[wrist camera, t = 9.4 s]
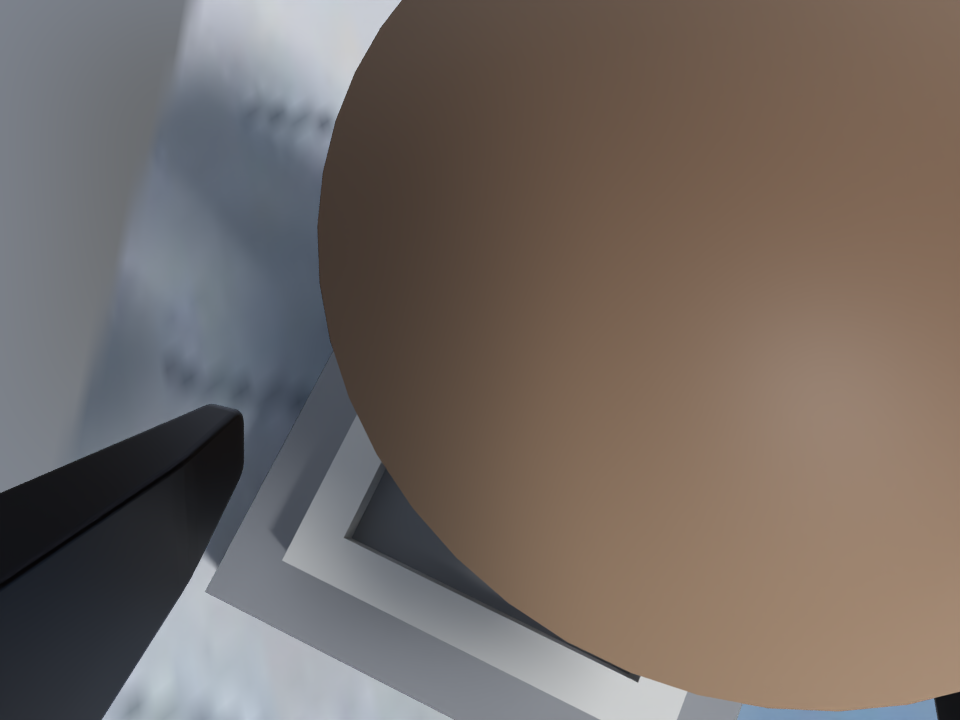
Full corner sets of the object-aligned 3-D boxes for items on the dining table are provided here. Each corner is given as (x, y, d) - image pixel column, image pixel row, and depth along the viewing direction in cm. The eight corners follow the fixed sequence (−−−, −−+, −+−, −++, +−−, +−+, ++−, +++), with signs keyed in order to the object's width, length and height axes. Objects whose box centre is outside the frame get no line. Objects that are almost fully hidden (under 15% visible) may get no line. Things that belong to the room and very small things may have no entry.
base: (670, 808, 18) (706, 861, 15) (233, 586, 19) (188, 595, 16) (831, 366, 20) (890, 337, 17) (437, 196, 22) (430, 143, 19)
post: (675, 558, 17) (1415, 617, 4) (461, 592, 17) (376, 795, 3) (630, 351, 18) (1059, -199, 5) (431, 382, 18) (277, -97, 5)
